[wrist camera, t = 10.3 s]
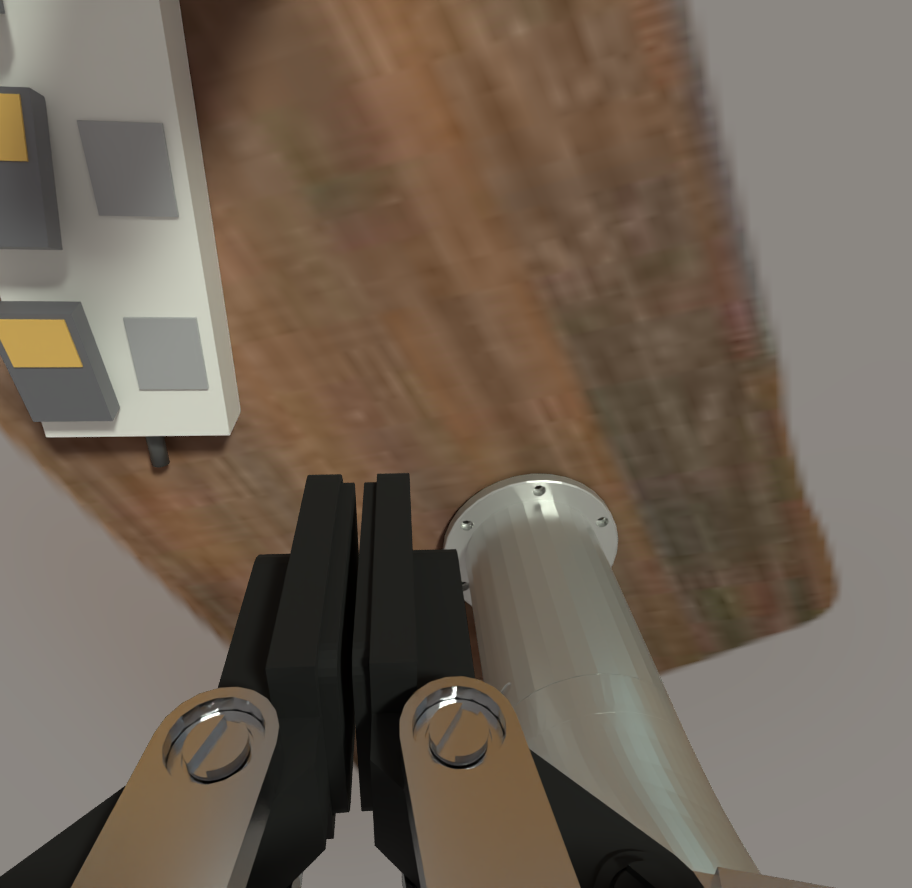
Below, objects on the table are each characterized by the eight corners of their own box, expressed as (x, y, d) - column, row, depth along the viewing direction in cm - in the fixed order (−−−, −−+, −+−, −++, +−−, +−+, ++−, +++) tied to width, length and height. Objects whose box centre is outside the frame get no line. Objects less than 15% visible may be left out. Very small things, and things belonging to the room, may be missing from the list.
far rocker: (120, 407, 34) (112, 422, 34) (42, 407, 34) (32, 423, 33) (80, 301, 30) (70, 314, 29) (-8, 300, 30) (-22, 314, 29)
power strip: (247, 453, 40) (236, 480, 38) (82, 456, 39) (59, 483, 37) (145, -220, 25) (115, -258, 22) (-127, -242, 24) (-195, -284, 21)
